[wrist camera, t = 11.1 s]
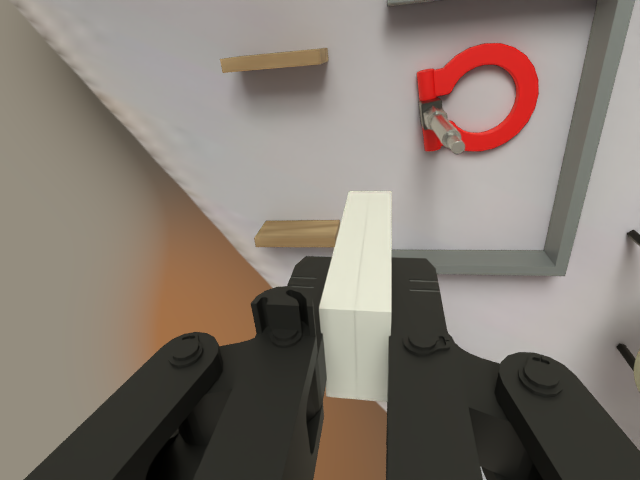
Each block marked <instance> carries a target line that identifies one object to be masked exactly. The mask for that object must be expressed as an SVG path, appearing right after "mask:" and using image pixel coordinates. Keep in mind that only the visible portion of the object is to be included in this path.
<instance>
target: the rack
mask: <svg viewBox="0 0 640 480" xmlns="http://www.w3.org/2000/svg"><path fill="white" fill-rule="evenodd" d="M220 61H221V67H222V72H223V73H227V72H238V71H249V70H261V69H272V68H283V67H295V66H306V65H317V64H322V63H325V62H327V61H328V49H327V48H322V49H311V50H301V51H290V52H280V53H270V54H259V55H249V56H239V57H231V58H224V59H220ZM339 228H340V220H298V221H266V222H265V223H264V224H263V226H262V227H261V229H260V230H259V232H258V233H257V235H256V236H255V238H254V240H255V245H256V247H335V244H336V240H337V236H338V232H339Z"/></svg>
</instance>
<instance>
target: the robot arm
mask: <svg viewBox="0 0 640 480" xmlns="http://www.w3.org/2000/svg"><path fill="white" fill-rule="evenodd" d="M251 307H252V312H253V317H254V322H255V327H256V333H257V334H256V336H255V338H253V339H251V340H248V341H244V342H240V343H235V344H230V345H225V346H219V345H218V343H217V341H216V339H215V338H214V337H213V336H211V335H209V334H207V333H200V332H193V333H188V334H183V335H181V336H179V337H176V338H174V339H172V340H171V341H169V342H168V343H167V344H166V345H164V346H163V347H162V348H160V350H158V351H157V352H156V353H155V354H154V355H153V356H152V357H151V358H150V359H149V360H148V361H147V362H146V363H145V364H144V365H143V366H142V367H141V368H140V369H139V370H138V371H137V372H135V373H134V374H133V375H132V376H131V377H130V378H129V379H128V380H127V381H126V382H125V383H124V384H123V385H122V386H121V387H120V388H119V389H118V390H117V391H116V392H115V393H114V394H113V395H111V396H110V397H109V398H108V399H107V400H106V401H105V402H104V403H103V404H102V405H101V406H100V407H99V408H98V409H97V410H96V411H95V412H94V413H93V414H92V415H91V416H90V417H89V418H87V420H85V422H83V423H82V424H81V425H80V426H79V427H78V428H77V429H76V430H75V431H74V432H73V433H72V434H71V435H70V436H69V437H68V438H67V439H66V440H65V441H63V443H61V444H60V445H59V446H58V447H57V448H56V449H55V450H54V451H53V452H52V453H51V454H50V455H49V456H48V457H47V458H46V459H45V460H44V461H43V462H42V463H41V464H40V465H39V466H37V467H36V468H35V469H34V470H33V471H32V472H31V473H30V474H29V475H28V476H27V477H26V478H25V479H24V480H313V478H314V472H315V466H316V460H317V454H318V448H319V442H320V437H321V431H322V424H323V419H324V413H323V396H324V391H325V386H326V394H327V396H328V397H338V398H349V399H360V400H371V401H381V402H387V442H386V445H387V454H386V480H483V478H482V473H481V468H480V466H481V467H482V470H483V473H484V475H485V477H486V479H487V480H640V451H639V450H638V449H637V447H636V446H635V445H634V444H633V443H632V442H631V440H630V439H629V438H628V437H627V436H626V434H625V433H624V432H623V431H622V430H621V428H620V427H619V426H618V425H617V424H616V423H615V421H614V420H613V419H612V418H611V417H610V415H609V414H608V413H607V412H606V411H605V410H604V408H603V407H602V406H601V405H600V404H599V402H598V401H597V400H596V399H595V398H594V397H593V395H592V394H591V393H590V392H589V391H588V389H587V388H586V387H585V386H584V385H583V384H582V382H581V381H580V380H579V379H578V378H577V376H576V375H575V374H573V373H572V372H571V371H570V370H569V369H568V368H567V367H566V366H565V365H563V364H561V363H559V362H557V361H556V360H554V359H552V358H550V357H547V356H544V355H540V354H537V353H528V352H518V353H515V354H512V355H508V356H507V357H506V358H505V359H504V360H503V361H502V362H501V364H499V363H496V362H492V361H489V360H486V359H483V358H480V357H477V356H474V355H472V354H470V353H468V352H466V351H465V350H463V349H461V348H460V347H459V346H458V345H457V344H455V343H454V340H453V338H452V337H451V336H450V335H449V334H448V331H447V327H446V322H445V316H444V311H443V306H442V300H441V295H440V289H439V284H438V278H437V273H436V268H435V267H434V266H433V265H432V264H431V263H430V262H429V261H428V260H427V259H426V258H396V257H391V191H349V193H348V197H347V201H346V205H345V209H344V213H343V217H342V220H341V224H340V228H339V232H338V236H337V240H336V244H335V248H334V251H333V255H332V257H314V256H306V257H304V258H303V259H302V260H301V261H300V262H299V263H298V264H296V265H295V268H294V270H293V273H292V275H291V278H290V280H289V283H288V286H284V287H276V288H273V289H270V290H267V291H264V292H263V293H261V294H260V295H258V296H257V297H256V298H255V299H254V300H253V301H252V303H251Z"/></svg>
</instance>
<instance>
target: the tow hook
mask: <svg viewBox="0 0 640 480" xmlns="http://www.w3.org/2000/svg"><path fill="white" fill-rule="evenodd" d="M482 65H497V66H500V67H502V68H503V69H505V70H506V71H508V72H509V74H510V75H511V76H512V78H513V80H514V83H515V86H516V98H515V103H514V106H513V108H512V110H511V112H510V114H509V115H508V116H507V117H506V119H505V120H504V121H503V122H501V123H500V124H499V125H498V126H496V127H494V128H492V129H490V130H488V131H484V132H480V133H471V132H467V131H464V130H462V129H460V128H459V127H457V126H456V125H455V123H454V122H453V121H450V120H449V121H448V120H447V113H446V112H445V111H444V110H443V109H442V101H441V100H440V99H439V98H438V97H437V96H442V95H446V94H449V93H450V92H451V91H452V90H453V87H454V86H455V84H456V83H457V81H458V80H459V79H460V78H461V77H462V76H463V75H464V74H465V73H466V72H468V71H470V70H472V69H473V68H475V67H478V66H482ZM417 80H418V90H419V99H420V100H419V110H420V120H421V125H422V128H423V137H424V147H425V151H436V150H439V149H440V148H441V146H445V147H446V148H449V149H451V151H452V152H453V153H454V154H461V153H462V152H463V151H464V150H465V151H484V150H489V149H493V148H496V147H498V146H500V145H502V144H504V143H506V142H508V141H509V140H510V139H511V138H513V137H514V136H515V135H517V134H518V133H519V132H520V131H521V129H522V128H523V127H524V126H525V125H526V123H527V122H528V121H529V119H530V117H531V115H532V113H533V111H534V109H535V106H536V102H537V98H538V94H539V93H538V77H537V74H536V71H535V68H534V66H533V64H532V63H531V62H530V60H529V59H528V57H527V56H526V55H525V54H523V53H522V52H520V51H519V50H518V49H516V48H515V47H511V46H508V45H505V44H501V43H484V44H481V45H477V46H474V47H470V48H468V49H466V50H465V51H463V52H461V53H459V54H458V55H456V56H455V57H454V58H453V59H452V60H451V61H450V62H448V63H447V64H446V65H445V66H444V68H441V69H437V70H434V69H426V70H422V71H419V72H417Z"/></svg>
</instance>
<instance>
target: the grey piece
mask: <svg viewBox="0 0 640 480" xmlns="http://www.w3.org/2000/svg"><path fill="white" fill-rule="evenodd" d="M430 1H439V0H387V6H395V5H404V4H413V3H422V2H430ZM634 3H635V0H598V1H597V5H596V10H595V15H594V19H593V24H592V29H591V33H590V38H589V43H588V47H587V52H586V56H585V61H584V66H583V70H582V75H581V80H580V84H579V89H578V94H577V98H576V103H575V108H574V112H573V117H572V122H571V126H570V131H569V136H568V140H567V145H566V150H565V154H564V159H563V164H562V168H561V173H560V178H559V182H558V187H557V192H556V196H555V201H554V206H553V210H552V215H551V219H550V224H549V229H548V233H547V238H546V243H545V247H544V250H391V257H396V258H426V259H427V260H428V261H429V262H430V263H431V264H432V265H433V266H434V267H435V268H436V273H437V274H468V275H528V276H565V274H566V270H567V266H568V262H569V259H570V255H571V251H572V247H573V243H574V239H575V235H576V231H577V227H578V223H579V219H580V215H581V211H582V207H583V203H584V199H585V196H586V192H587V188H588V184H589V180H590V176H591V172H592V168H593V164H594V160H595V156H596V152H597V148H598V144H599V140H600V136H601V133H602V129H603V125H604V121H605V117H606V113H607V109H608V105H609V101H610V97H611V93H612V89H613V85H614V81H615V77H616V73H617V69H618V66H619V62H620V58H621V54H622V50H623V46H624V42H625V38H626V34H627V30H628V26H629V22H630V18H631V14H632V10H633V6H634Z"/></svg>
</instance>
